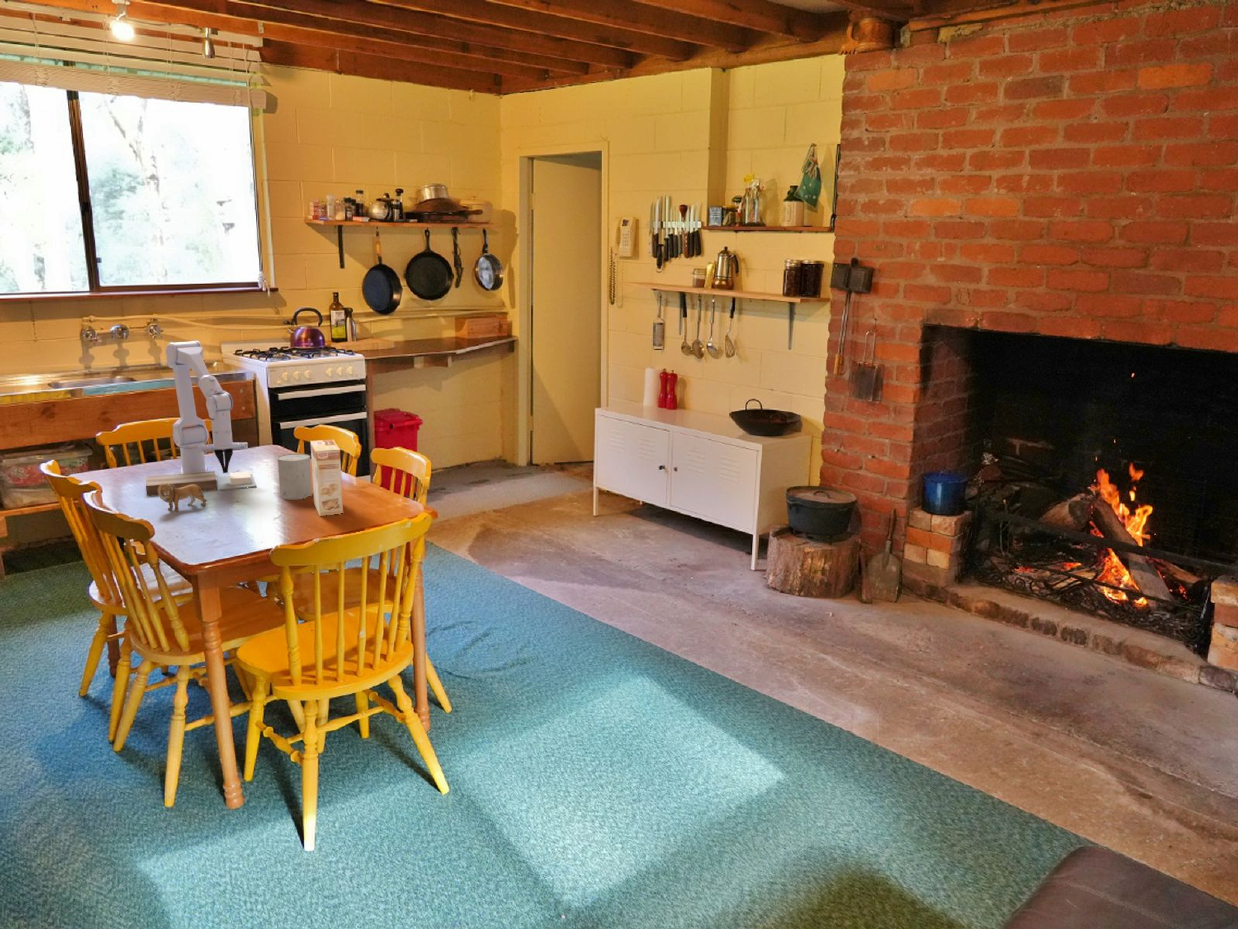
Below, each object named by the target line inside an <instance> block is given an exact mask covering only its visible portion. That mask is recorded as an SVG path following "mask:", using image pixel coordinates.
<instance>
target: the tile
mask: <svg viewBox="0 0 1238 929" xmlns="http://www.w3.org/2000/svg"><path fill="white" fill-rule="evenodd" d="M228 473H229V475H228V476H230V482H231V485H236V484H247V483H251V476H250V474H251V473H250V471H237V472H228Z"/></svg>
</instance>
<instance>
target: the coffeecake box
mask: <svg viewBox="0 0 1238 929" xmlns="http://www.w3.org/2000/svg"><path fill="white" fill-rule="evenodd" d="M310 452H311V453H310V461H311V474H312V475H311V478H312V492H313V493H312V496H313V503H314V506H315V509H316V512H317V514H318V516H319V517H325V516H326V515H327V516H335V515H334V514H338V513H339V515H341V514H340V513H343V514H344V507H343V505H344V504H343V486H342V485H343V484H342V465H341V463H342V462H341V460H342V459H341V449H340V447H339V446H338V444H337V443H336V441H335V439H320V440H310ZM327 516H326V517H327Z"/></svg>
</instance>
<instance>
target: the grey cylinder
mask: <svg viewBox="0 0 1238 929" xmlns="http://www.w3.org/2000/svg"><path fill="white" fill-rule="evenodd" d="M277 468H278V482H279V497H280V498H281V499H283V500H288V501H290V500H291V501H293V500H303V498H304V499H307V498H306V497H308V496H310V497H312V496H313V493H312V492H313V486H312V475H311V474H312V469H311V455H309V454H307V453H287V454H282V455H279V456H277ZM308 498H309V497H308Z"/></svg>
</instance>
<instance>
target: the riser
mask: <svg viewBox="0 0 1238 929" xmlns="http://www.w3.org/2000/svg"><path fill="white" fill-rule="evenodd" d="M145 479H146V480H145V488H146V489H145V490H146V496H155V495H159V494H158V491H157V490H158V487H159V485H160V484H161V483H169V484H171V485H175V486H176V487H179V488H181V487H185V486H188V485H191V484H194V485H197V486H199V487H200V488H201V490H202V491H211V490H212V489H213V490H218V482H217V476H216V471H215V470H212V471H207V472H198V473H186V474H181V473H176V474H175V473H174V474H165V475H164V474H163V475H151V476H146V478H145Z"/></svg>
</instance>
